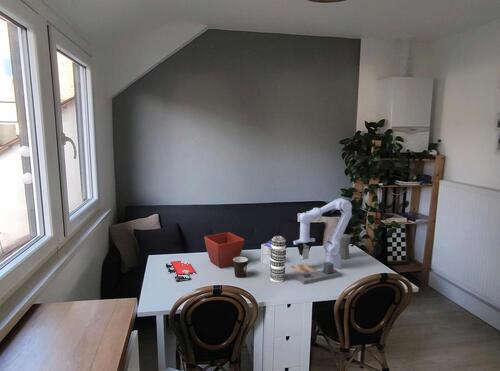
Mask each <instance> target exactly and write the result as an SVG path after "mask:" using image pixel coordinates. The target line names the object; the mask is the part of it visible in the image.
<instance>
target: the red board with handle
mask: <svg viewBox="0 0 500 371" xmlns="http://www.w3.org/2000/svg"><path fill="white" fill-rule="evenodd" d="M181 261H182V260H176V261H173V260H172V261H170V262H171V263H170V264H168V262H167V263H166V262H165V268H166V267H168V268H167V269H168V270H167V273H168V272H170V273H171V272H172V273H175V272H176V273H175V275H176V274H177V275H176V276H174V279H175V281H176V282H179V281H187V280H192V277H191V275H194V274H193V273H196V274H197V271H196V270H195V268H194V267H193V265H192V264H191V263H190V264H188V263H187V264H188V265H187V264H184V263H181ZM171 264H172V265H171ZM182 264H183V265H182ZM169 266H173V267H172V269H171V267H169ZM173 268H174V269H173ZM173 271H175V272H173ZM189 274H191V275H189ZM178 275H189V278H186V277H185V278H184V277H183V276H178Z"/></svg>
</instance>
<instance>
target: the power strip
mask: <svg viewBox="0 0 500 371" xmlns="http://www.w3.org/2000/svg"><path fill="white" fill-rule="evenodd" d="M337 270H338V269H333V274H329V275H327V274H325V273H324V272H323V269H321V270H316V271H311V272H306V273H300V274H297V275H295V280H297V281H299V282H300V283H301V284H302V285H308V284H312V283H317V282H320V281H326V280H330V279H335V278H339V277H342V276H341V275H342V273H341V272H340V271H337Z"/></svg>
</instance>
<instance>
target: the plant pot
mask: <svg viewBox="0 0 500 371" xmlns="http://www.w3.org/2000/svg"><path fill="white" fill-rule="evenodd" d="M204 243H205V248H206V252H207V254H208V258H209V261H210V262H211V263H212V264H213V265H215V266H216V267H218V268H219V269H222V268H226V267H231V266H234V263H233V259H234V258H236V257H241V254H242V251H243V248H244V243H245V239H244V238H243V237H240V236H237V235H235V234H234V233H232V232H221V233H216V234H211V235H206V236H205V235H204Z"/></svg>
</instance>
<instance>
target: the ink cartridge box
mask: <svg viewBox="0 0 500 371" xmlns="http://www.w3.org/2000/svg"><path fill="white" fill-rule="evenodd" d="M271 244H272V240H268V241H267V242H266V243H265V242H264V243H262V244H261V246H260V247H261V248H260V263H264V264H266V265H267V266H270V267H271V257H270V255H271V254H270V253H271V251H270V247H271Z"/></svg>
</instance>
